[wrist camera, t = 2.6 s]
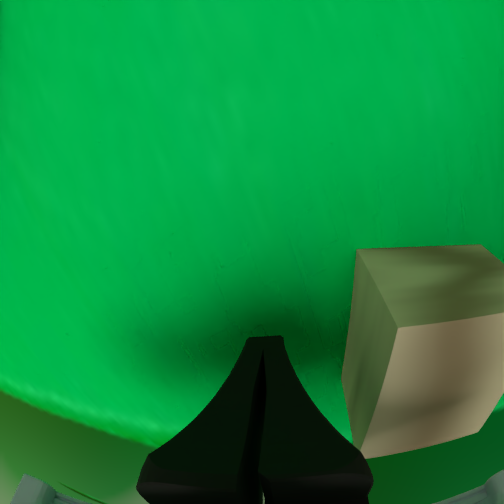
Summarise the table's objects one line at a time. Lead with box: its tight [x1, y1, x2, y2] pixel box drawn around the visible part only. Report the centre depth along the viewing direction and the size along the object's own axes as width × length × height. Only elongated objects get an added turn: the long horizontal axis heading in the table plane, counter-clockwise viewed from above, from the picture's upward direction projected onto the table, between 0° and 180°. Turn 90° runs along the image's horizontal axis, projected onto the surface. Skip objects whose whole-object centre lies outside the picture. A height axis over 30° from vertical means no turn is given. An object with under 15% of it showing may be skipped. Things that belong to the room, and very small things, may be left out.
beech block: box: [341, 244, 504, 459], centre depth 11 cm, size 6×7×5 cm
